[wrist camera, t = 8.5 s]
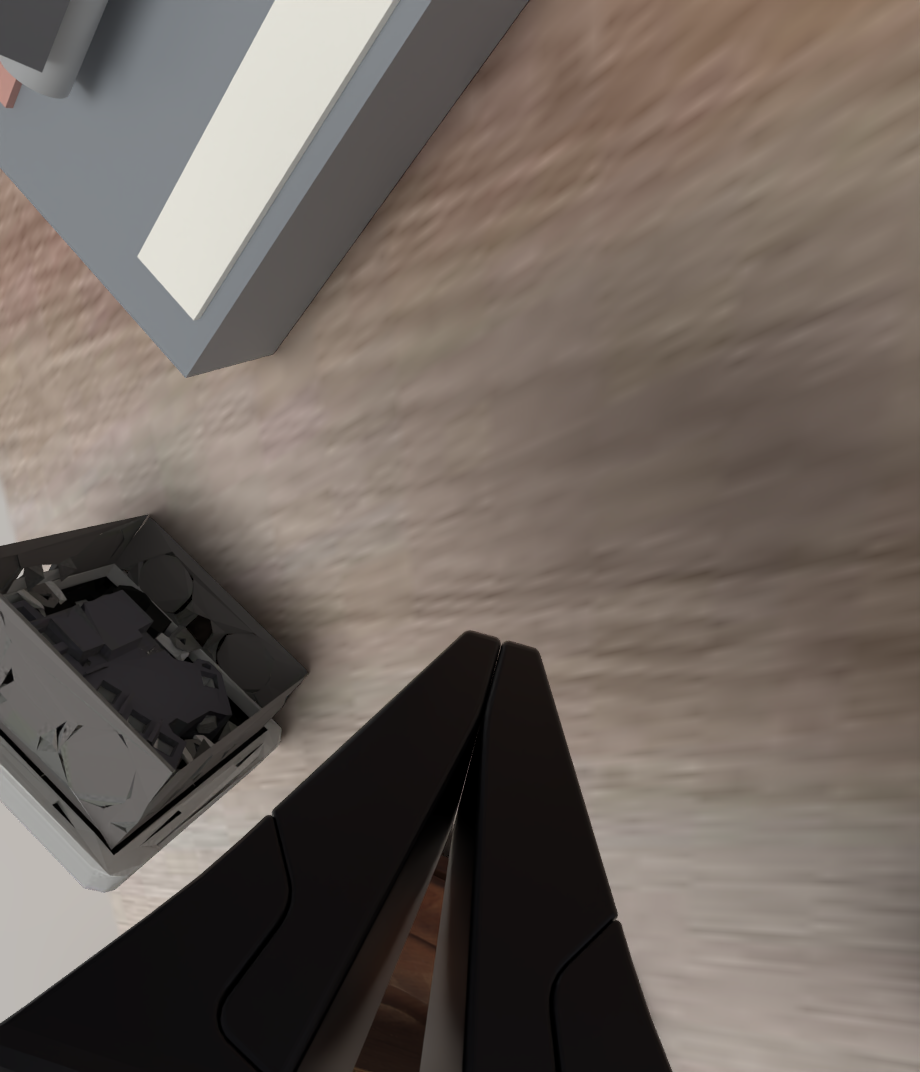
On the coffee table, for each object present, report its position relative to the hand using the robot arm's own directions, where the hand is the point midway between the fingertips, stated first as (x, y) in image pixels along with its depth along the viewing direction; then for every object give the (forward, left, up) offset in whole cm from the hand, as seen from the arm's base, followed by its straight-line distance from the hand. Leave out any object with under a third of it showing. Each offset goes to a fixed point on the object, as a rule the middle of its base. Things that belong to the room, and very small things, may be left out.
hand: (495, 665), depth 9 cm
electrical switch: (-4, +17, -12) cm, 21 cm away
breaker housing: (+11, +8, -11) cm, 18 cm away
